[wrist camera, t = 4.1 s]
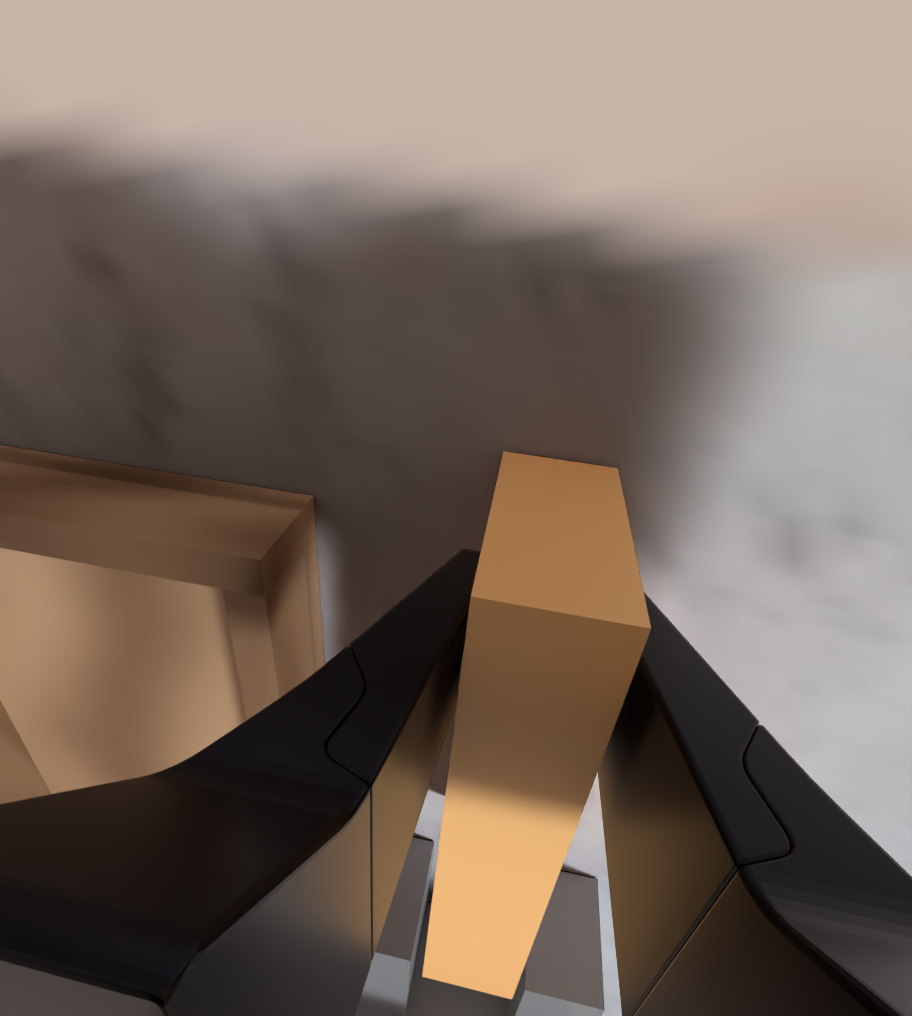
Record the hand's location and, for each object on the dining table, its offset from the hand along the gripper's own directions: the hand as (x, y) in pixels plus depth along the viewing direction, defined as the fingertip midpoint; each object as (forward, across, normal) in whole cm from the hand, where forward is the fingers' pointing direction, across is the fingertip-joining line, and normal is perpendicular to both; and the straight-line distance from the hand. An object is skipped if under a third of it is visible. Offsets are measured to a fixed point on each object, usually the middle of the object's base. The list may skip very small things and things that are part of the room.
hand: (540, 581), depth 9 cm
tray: (+1, +10, +8) cm, 12 cm away
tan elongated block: (+1, 0, +4) cm, 4 cm away
